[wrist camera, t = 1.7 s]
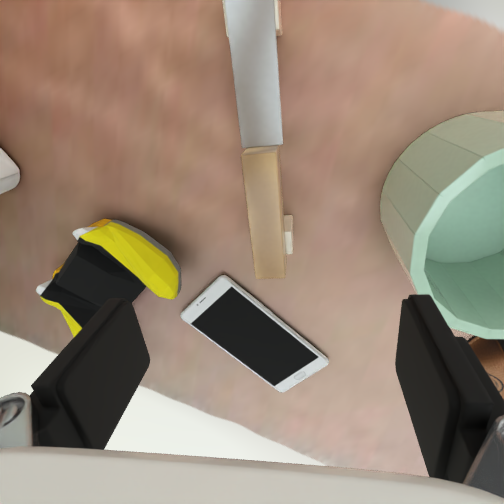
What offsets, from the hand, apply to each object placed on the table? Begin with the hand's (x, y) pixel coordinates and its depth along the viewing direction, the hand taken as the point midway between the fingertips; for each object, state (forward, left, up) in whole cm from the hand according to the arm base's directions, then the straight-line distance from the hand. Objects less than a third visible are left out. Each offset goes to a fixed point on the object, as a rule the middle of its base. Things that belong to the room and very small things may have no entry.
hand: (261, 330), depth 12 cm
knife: (-3, -1, -15) cm, 15 cm away
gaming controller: (+8, -17, -18) cm, 26 cm away
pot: (+2, +14, -18) cm, 23 cm away
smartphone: (+16, -4, -18) cm, 25 cm away
